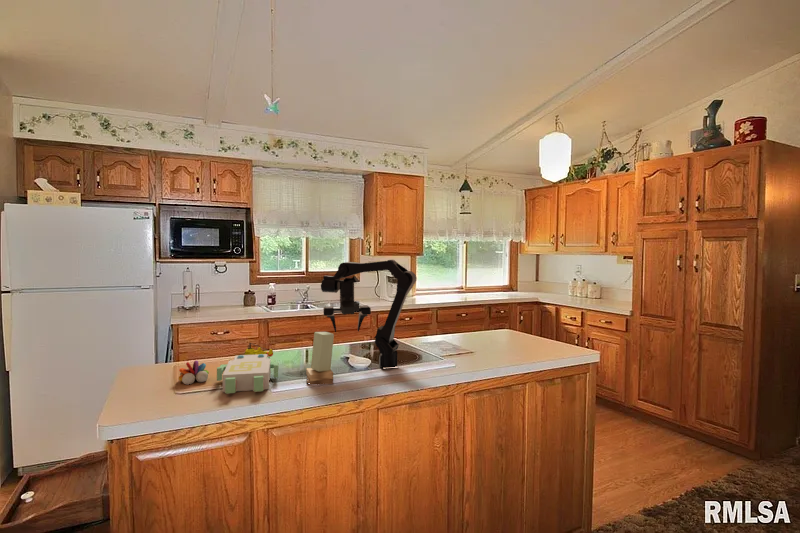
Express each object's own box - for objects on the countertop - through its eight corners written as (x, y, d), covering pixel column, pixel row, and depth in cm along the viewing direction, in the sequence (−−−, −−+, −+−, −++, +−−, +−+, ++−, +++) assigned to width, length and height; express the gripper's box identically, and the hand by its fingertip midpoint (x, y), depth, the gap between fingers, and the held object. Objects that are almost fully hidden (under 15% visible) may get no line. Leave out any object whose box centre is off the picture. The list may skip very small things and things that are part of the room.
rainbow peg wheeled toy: (176, 380, 153) (176, 360, 153) (206, 375, 159) (205, 356, 158) (180, 387, 146) (180, 366, 146) (211, 382, 152) (211, 361, 152)
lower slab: (332, 377, 160) (332, 372, 160) (333, 386, 151) (333, 379, 151) (307, 379, 158) (307, 373, 158) (306, 387, 150) (306, 381, 149)
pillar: (322, 366, 159) (326, 331, 159) (330, 370, 155) (333, 334, 155) (310, 368, 155) (314, 332, 155) (318, 371, 152) (322, 334, 151)
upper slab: (328, 372, 160) (328, 366, 160) (333, 378, 153) (333, 372, 152) (306, 374, 157) (306, 368, 157) (310, 381, 150) (310, 375, 149)
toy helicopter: (274, 362, 176) (274, 338, 175) (241, 375, 159) (240, 348, 159) (262, 360, 178) (262, 336, 178) (228, 372, 162) (227, 346, 162)
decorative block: (223, 354, 161) (279, 351, 165) (223, 371, 161) (279, 368, 166) (210, 378, 136) (276, 374, 141) (210, 397, 136) (276, 393, 141)
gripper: (324, 296, 165) (324, 336, 166) (372, 295, 168) (372, 335, 169) (323, 292, 176) (323, 330, 177) (369, 291, 179) (368, 329, 180)
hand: (346, 331), depth 175 cm, fingers open, 9 cm apart
